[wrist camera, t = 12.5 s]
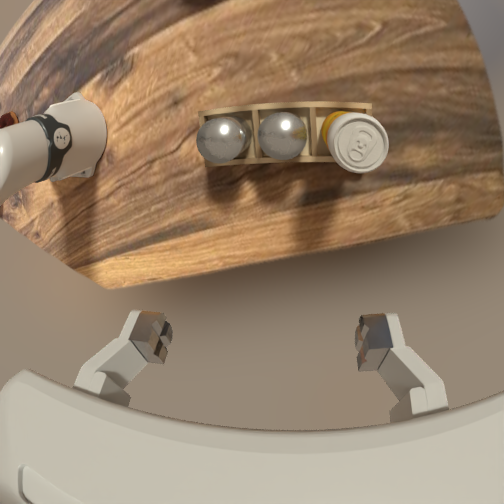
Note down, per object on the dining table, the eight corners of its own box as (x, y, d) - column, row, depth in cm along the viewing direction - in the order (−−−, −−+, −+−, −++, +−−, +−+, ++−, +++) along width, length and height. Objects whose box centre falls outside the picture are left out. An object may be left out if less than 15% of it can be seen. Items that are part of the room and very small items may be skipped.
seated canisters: (216, 155, 41) (199, 165, 35) (211, 118, 38) (193, 121, 32) (307, 150, 38) (308, 159, 32) (305, 111, 35) (305, 111, 29)
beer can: (368, 123, 34) (401, 133, 21) (351, 158, 37) (374, 186, 24) (331, 104, 33) (345, 101, 21) (314, 140, 37) (318, 158, 24)
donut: (14, 151, 49) (4, 156, 46) (3, 131, 46) (-7, 135, 43) (24, 123, 44) (13, 127, 41) (12, 103, 42) (1, 106, 38)
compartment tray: (212, 162, 43) (205, 167, 40) (206, 110, 39) (198, 111, 36) (367, 159, 38) (372, 163, 35) (366, 103, 34) (371, 103, 31)
